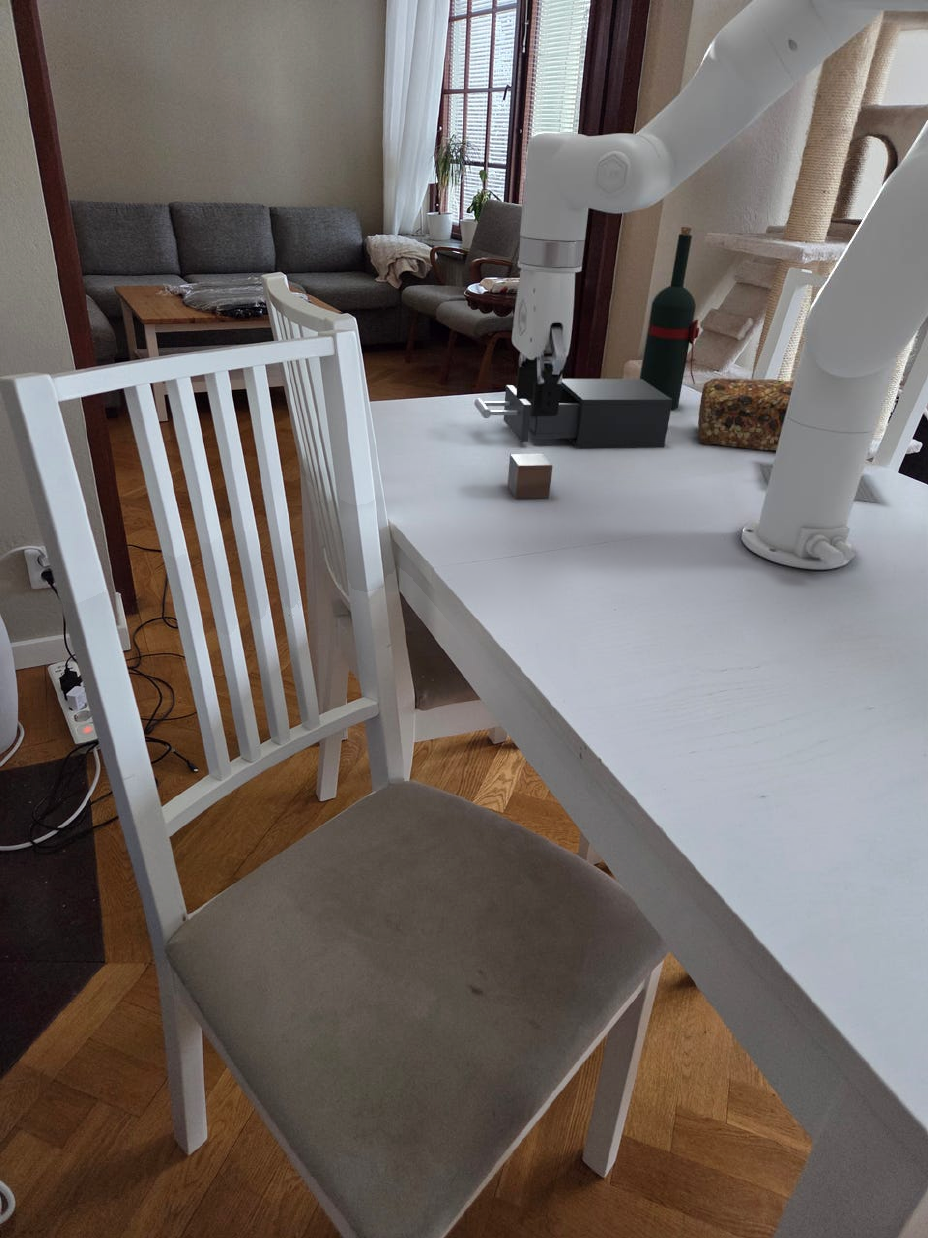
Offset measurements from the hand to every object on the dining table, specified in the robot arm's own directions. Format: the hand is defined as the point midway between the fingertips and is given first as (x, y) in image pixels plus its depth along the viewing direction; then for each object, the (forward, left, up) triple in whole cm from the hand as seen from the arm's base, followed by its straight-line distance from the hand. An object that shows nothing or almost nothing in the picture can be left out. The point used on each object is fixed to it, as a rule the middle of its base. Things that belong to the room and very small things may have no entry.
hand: (536, 405), depth 105 cm
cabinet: (+24, -20, -12) cm, 33 cm away
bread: (+20, -44, -12) cm, 50 cm away
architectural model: (+1, -44, -12) cm, 46 cm away
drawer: (+24, -8, -11) cm, 27 cm away
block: (0, 0, -12) cm, 12 cm away
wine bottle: (+41, -37, -12) cm, 57 cm away
